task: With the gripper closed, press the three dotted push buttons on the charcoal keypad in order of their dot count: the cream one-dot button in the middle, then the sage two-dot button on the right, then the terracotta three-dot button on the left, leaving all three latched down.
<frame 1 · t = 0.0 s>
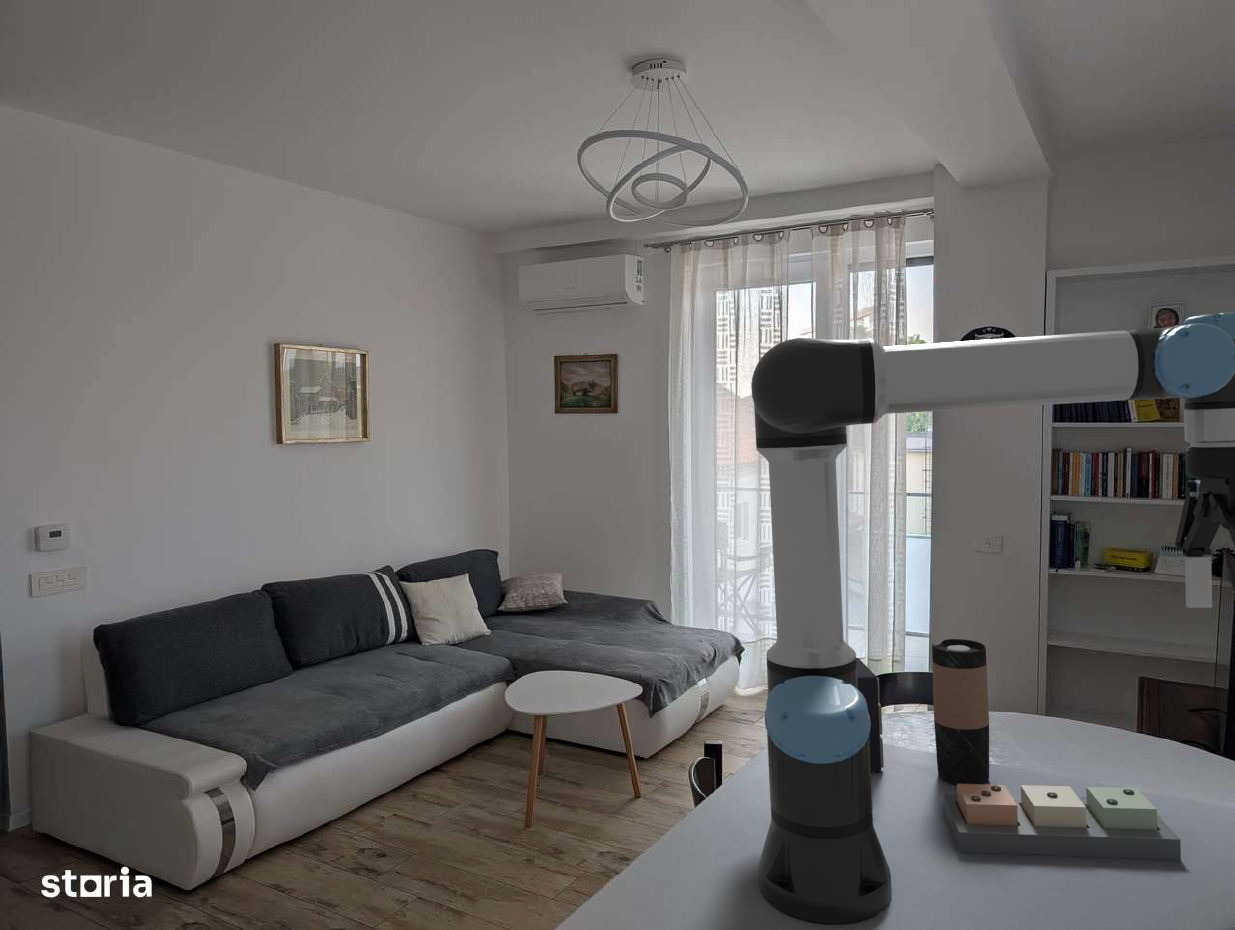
hand: (1226, 620, 103), 28 cm above the table, tool pointing down, fingers open, 13 cm apart
button two: (1120, 808, 108), point 4 cm above the table, slide at 0.0 cm
travel mug: (963, 778, 127), on the table
button one: (1052, 806, 109), point 4 cm above the table, slide at 0.0 cm
calculator: (862, 760, 136), on the table
button three: (986, 804, 111), point 4 cm above the table, slide at 0.0 cm
keypad board: (1053, 833, 109), on the table
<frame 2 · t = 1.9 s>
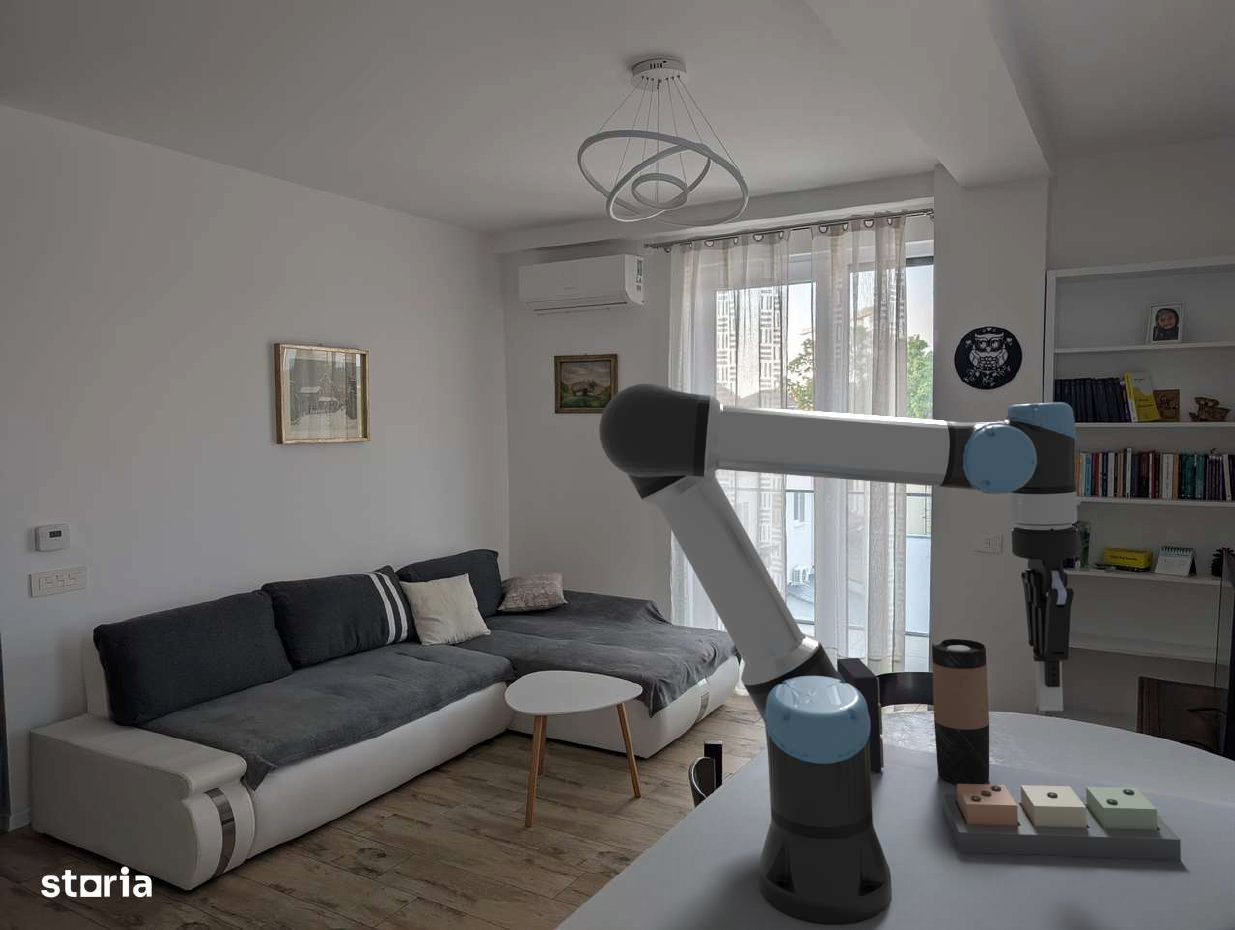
hand: (1049, 708, 109), 16 cm above the table, tool pointing down, fingers closed
nothing on the table moved.
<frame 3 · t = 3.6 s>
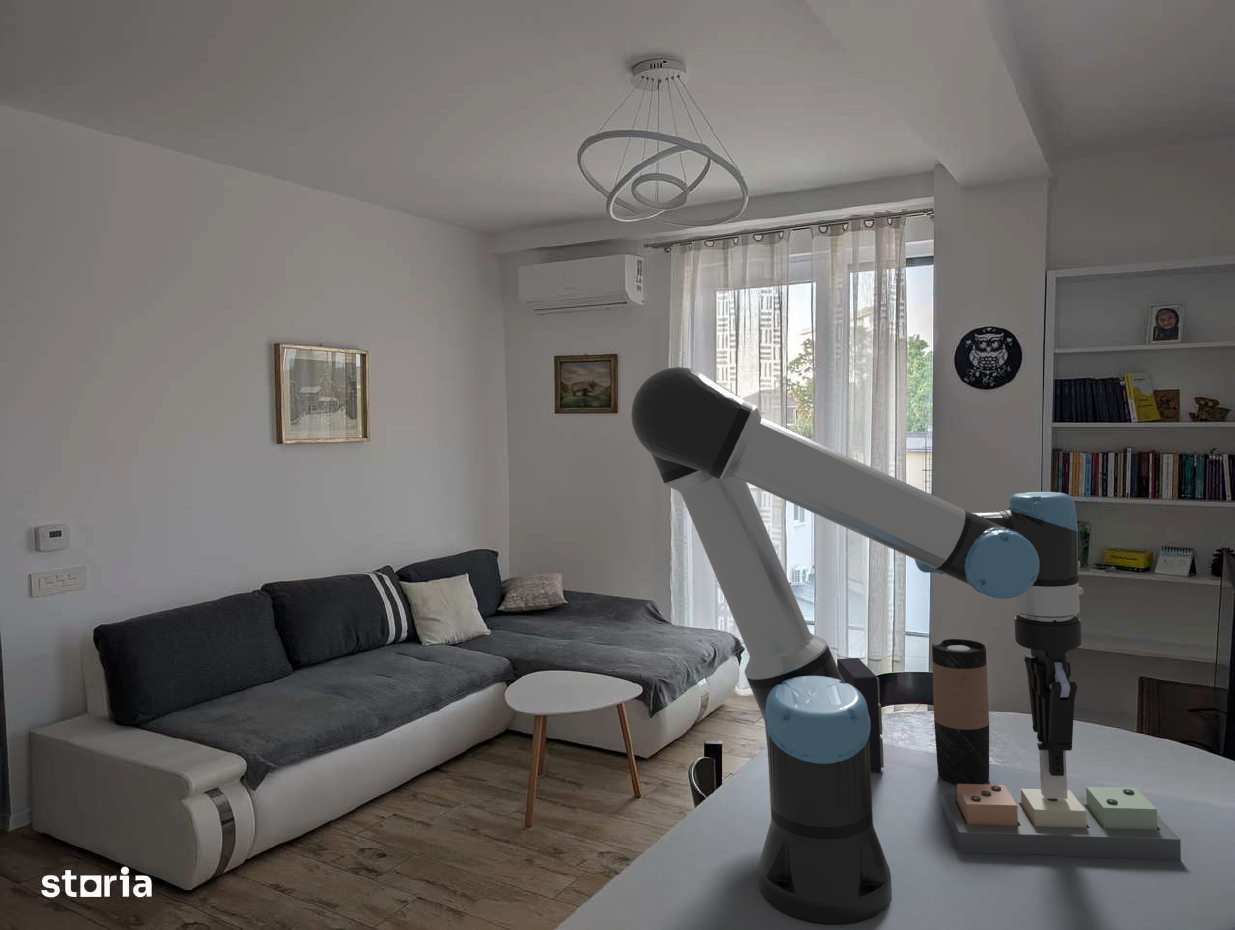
hand: (1054, 795, 109), 5 cm above the table, tool pointing down, fingers closed
button one: (1052, 810, 109), point 3 cm above the table, slide at 0.5 cm, touching gripper
everything else where it was.
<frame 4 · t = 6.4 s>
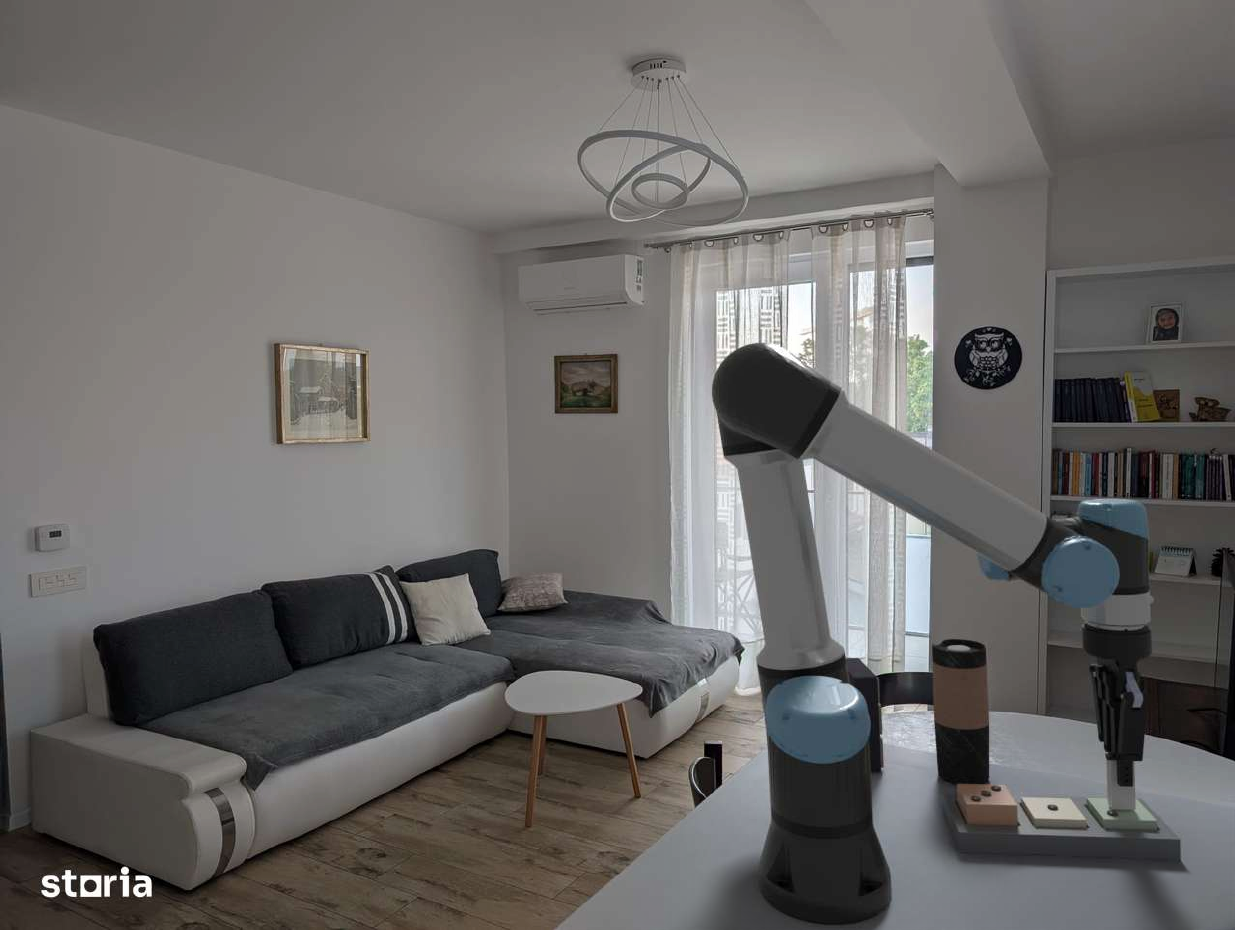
hand: (1121, 806, 108), 4 cm above the table, tool pointing down, fingers closed
button two: (1121, 819, 108), point 2 cm above the table, slide at 1.5 cm, touching gripper
button one: (1053, 818, 109), point 2 cm above the table, slide at 1.6 cm
everything else where it was.
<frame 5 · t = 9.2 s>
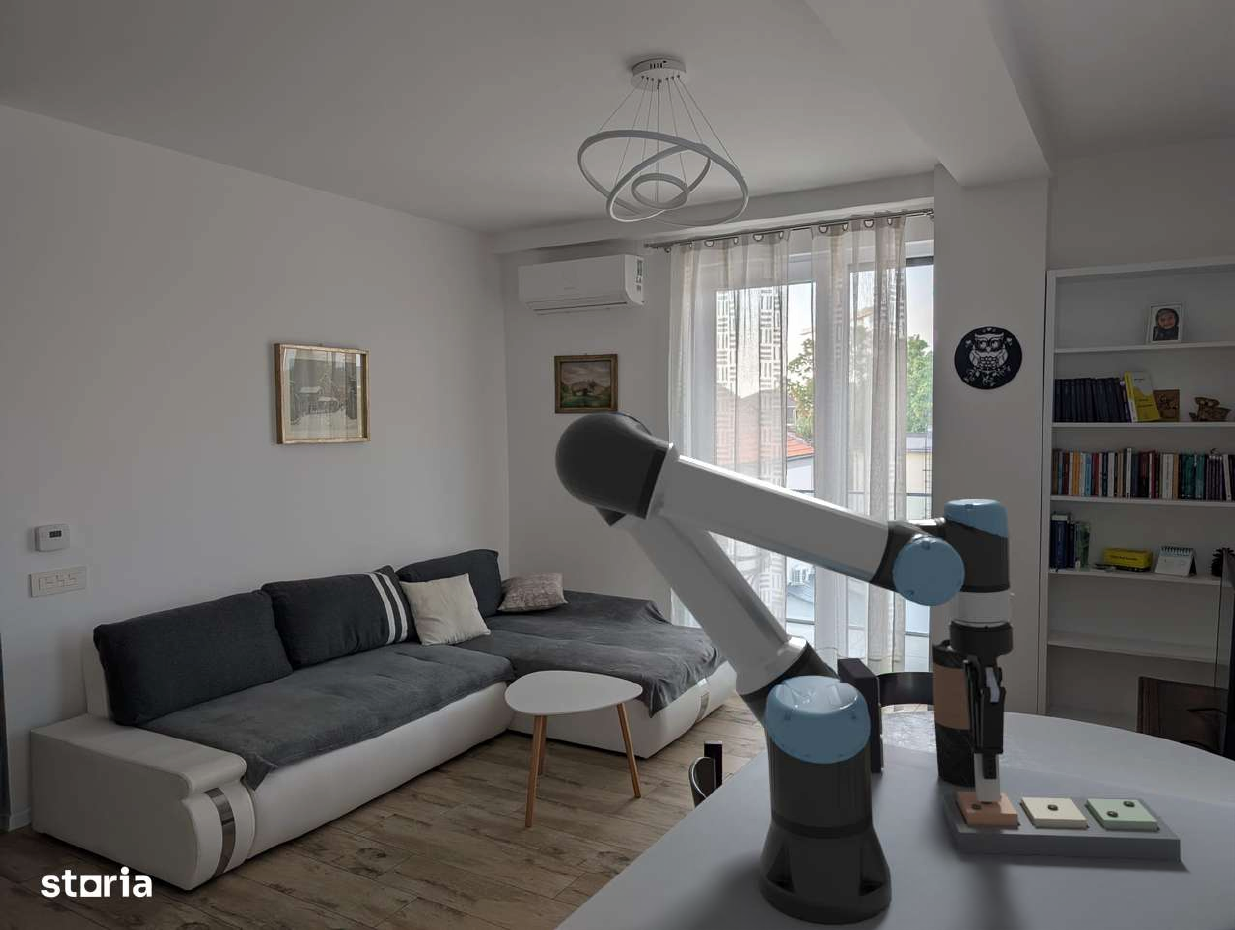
hand: (988, 798, 111), 4 cm above the table, tool pointing down, fingers closed
button two: (1121, 820, 108), point 2 cm above the table, slide at 1.6 cm
button three: (986, 812, 111), point 3 cm above the table, slide at 1.1 cm, touching gripper
everything else where it was.
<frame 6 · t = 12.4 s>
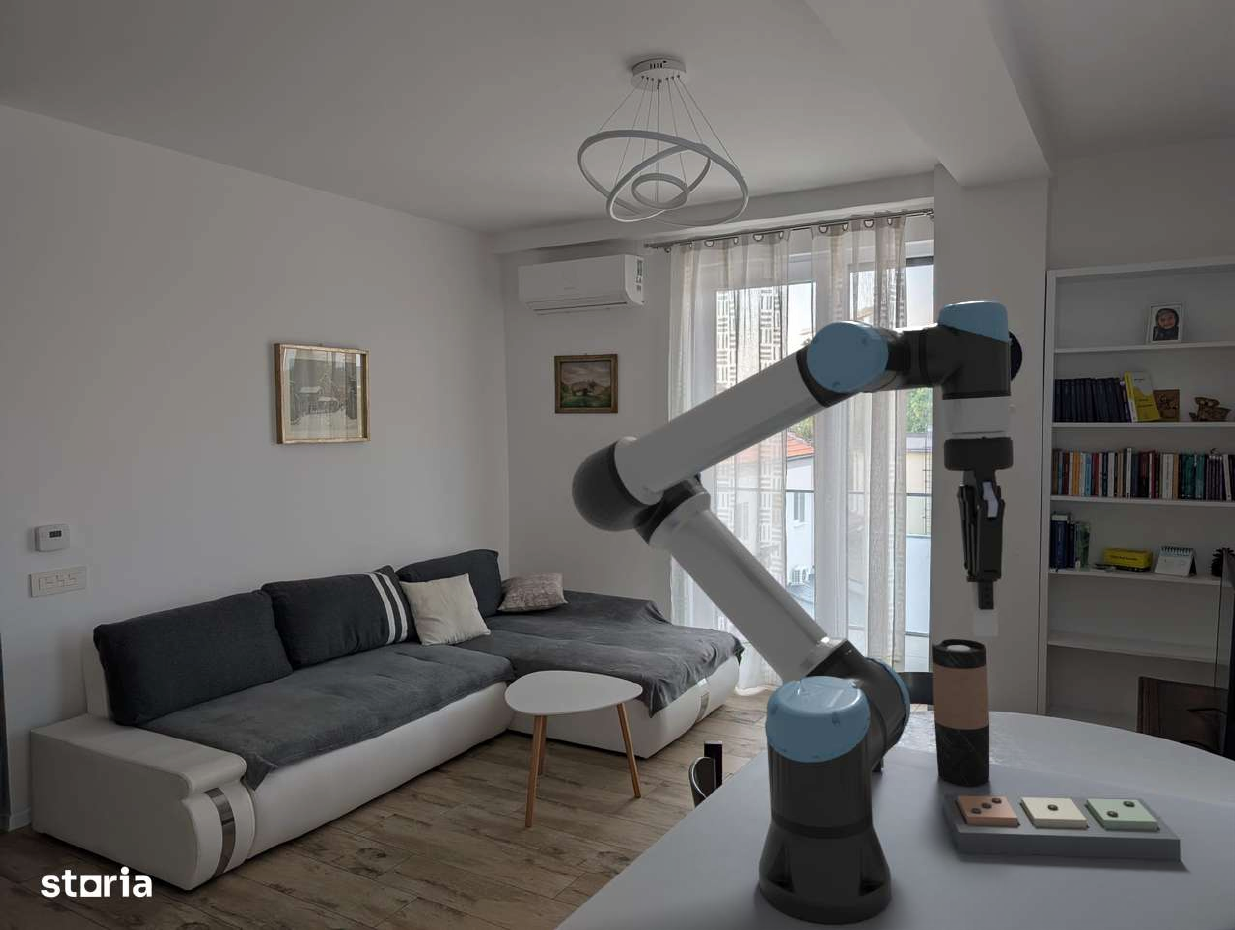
hand: (984, 634, 101), 28 cm above the table, tool pointing down, fingers closed
button three: (986, 816, 111), point 2 cm above the table, slide at 1.6 cm
everything else where it was.
at the end: button one slide at 1.6 cm; button two slide at 1.6 cm; button three slide at 1.6 cm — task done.
